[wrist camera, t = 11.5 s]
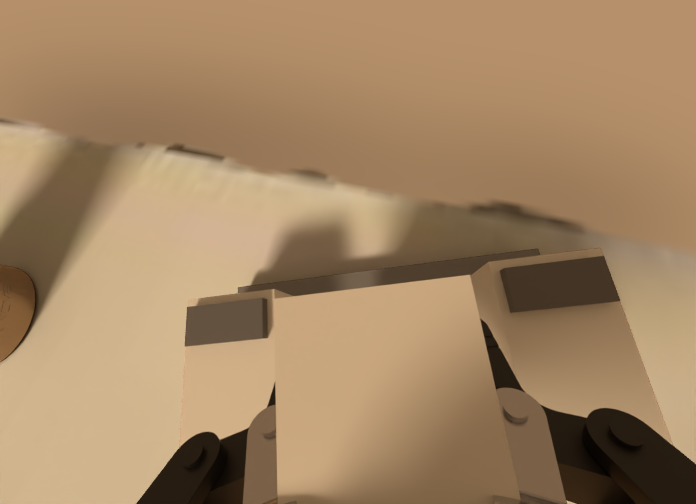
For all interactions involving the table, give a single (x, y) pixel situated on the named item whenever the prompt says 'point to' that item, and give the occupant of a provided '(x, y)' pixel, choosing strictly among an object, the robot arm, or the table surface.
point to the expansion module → (388, 398)
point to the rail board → (494, 309)
